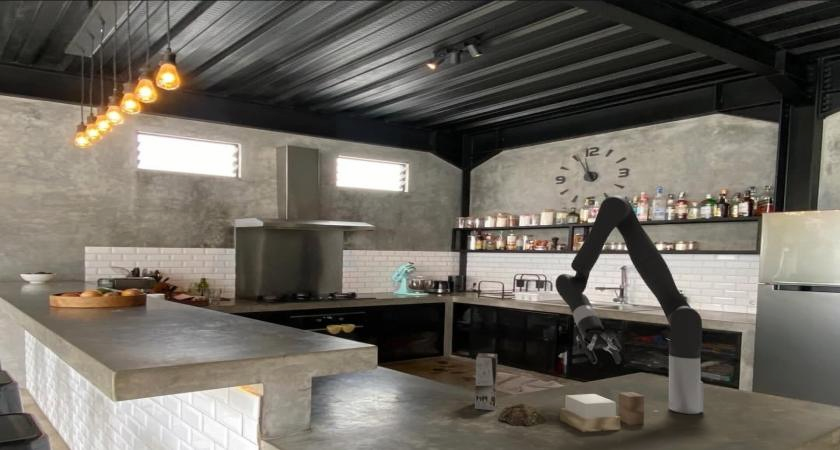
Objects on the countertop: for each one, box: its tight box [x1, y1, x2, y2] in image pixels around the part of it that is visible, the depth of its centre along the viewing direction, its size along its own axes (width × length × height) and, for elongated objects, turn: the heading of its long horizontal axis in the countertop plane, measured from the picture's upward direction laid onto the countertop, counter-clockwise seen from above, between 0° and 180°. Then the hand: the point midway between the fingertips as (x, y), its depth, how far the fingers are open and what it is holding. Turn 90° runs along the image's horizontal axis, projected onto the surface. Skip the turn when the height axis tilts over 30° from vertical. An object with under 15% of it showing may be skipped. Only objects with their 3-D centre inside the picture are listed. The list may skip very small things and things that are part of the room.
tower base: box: [559, 407, 621, 433], centre depth 164 cm, size 12×12×4 cm
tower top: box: [564, 393, 617, 419], centre depth 163 cm, size 10×10×4 cm
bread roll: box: [498, 403, 546, 427], centre depth 166 cm, size 13×12×5 cm
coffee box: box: [474, 352, 498, 411], centre depth 181 cm, size 9×6×16 cm
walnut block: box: [618, 391, 645, 426], centre depth 168 cm, size 5×5×8 cm
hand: (607, 362), depth 179 cm, fingers open, 8 cm apart
